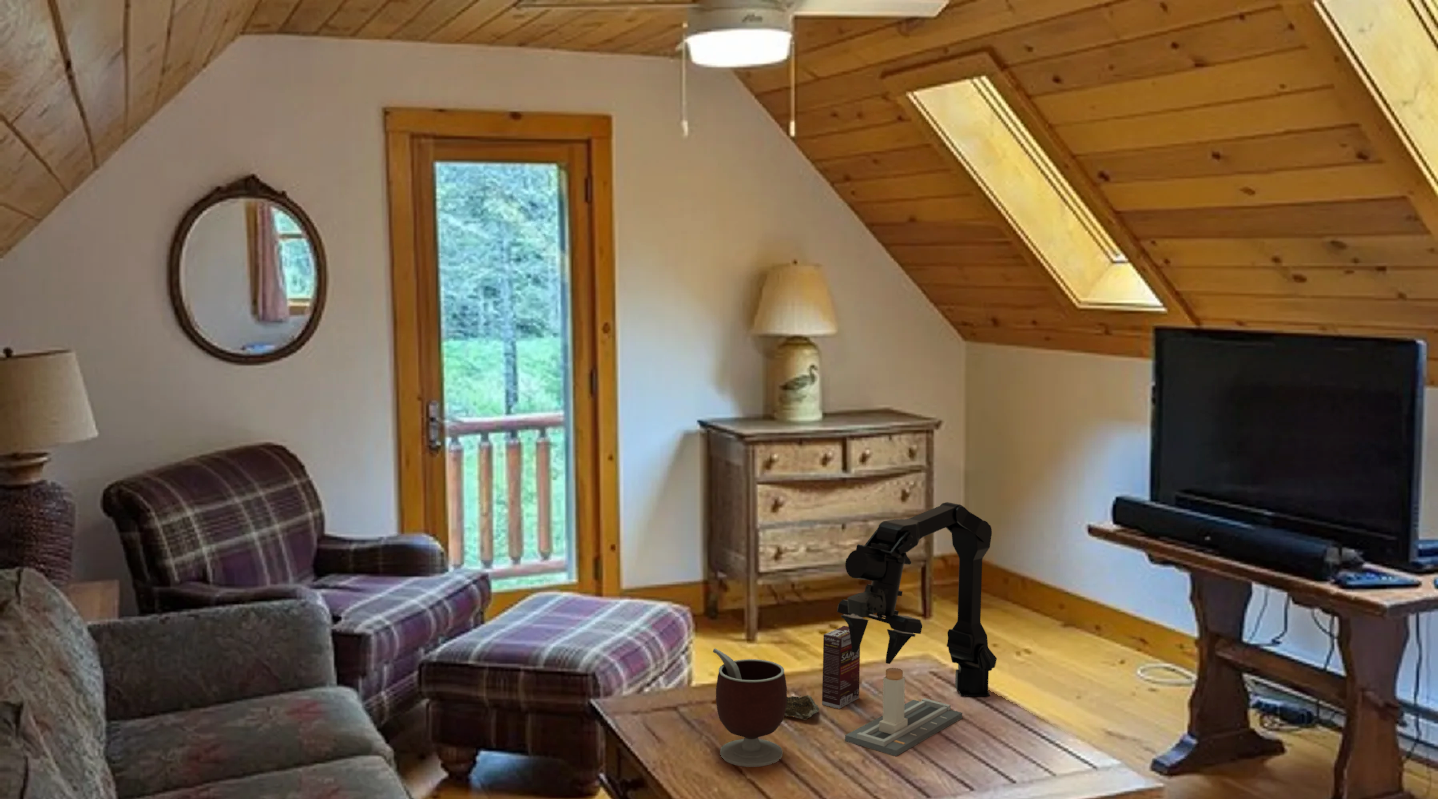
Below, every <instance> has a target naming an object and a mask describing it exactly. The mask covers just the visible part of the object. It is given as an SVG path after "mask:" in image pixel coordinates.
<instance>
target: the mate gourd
mask: <svg viewBox="0 0 1438 799" xmlns="http://www.w3.org/2000/svg"><path fill="white" fill-rule="evenodd" d="M712 653H714V654H716V655H717V656H718V657H719V659H720V660H721V662H722V663H723V664H721V665H720V666H719V668H718V674H717V677H716V678H717V679H716V686H715V702H716V703H715V704H716V709H717V715H718V719H719V721H720V722H721V724H722V725H723V726H724V728H725V729H726V730H727V731H728V733H731V734H733V735H735V736H738V737H742V738H741V739H736V740H732V741H729V742H726V743H725V744H723V745H722V746H721V747H720V750H719V756H720V755H721V756H720V758H721V757H722V758H723V759H724V760H723V759H722V758H721V759H722V760H723V761H725V762H726V763H728V764H731V765H735V766H739V767H745V768H746V767H747V768H749V767H750V768H754V767H755V768H756V767H766V766H769V765H772V763H773V764H775V763H777V762H778V761H780V760H781V759H782V758H781V757H783V748H782V747H781V746H780V745H778V744H777V743H775V742H773V741H770V740H766V739H761V737H765V736H769V735H771V734H773V733H775V731H776V730H777V729H778V728H779V726H780V725H781V724H782V723H783V721H784V718H785V711H786V704H787V697H788V689H787V688H788V687H787V680H786V674H785V668H784V667H783V666H782V665H781V664H779V663H777V662H773V661H770V660H765V659H758V658H757V659H756V658H755V659H753V658H751V659H750V658H747V659H746V658H745V659H737V660H734V659H732V658H731V657H730V656H729V655H728V654H726V653H724V652H722V651H721V650H719V649H717V648H713V651H712ZM779 759H780V760H779Z"/></svg>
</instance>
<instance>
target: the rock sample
mask: <svg viewBox="0 0 1438 799" xmlns="http://www.w3.org/2000/svg"><path fill="white" fill-rule="evenodd" d="M819 711H820V707H819V706H818V704H816V702H815V701H814V698H812V696H811V695H802V696H801V695H799V696H794V695H793V696H787V704H786V711H785V715H784V717H787V716H794V717H796V719H800V720H802V719H803V721H806V720H808V718H811V717H813V715H814V714H817V713H818V712H819ZM794 717H793V718H794Z"/></svg>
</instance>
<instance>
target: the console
mask: <svg viewBox="0 0 1438 799" xmlns="http://www.w3.org/2000/svg"><path fill="white" fill-rule="evenodd" d="M904 718H907V719H908V726H907V727H905V728H903V729H902V730H900V731H898V732H896V733H894V734H893V735H891V734H888V733H884V732H881V731H879V721H881V720H883V715H881V716H878V717H877V718H875V719H873V720H872V721H870V722H868V723H866V724H863V725H862V726H860V727H858V728H856V729H854V730H852V731H850V732H849V733H846V734H844V741H845V742H847V743H850V744H851V743H852V744H854V745H858V746H860V747H865V748H868V749H871V750H874V751H878V752H880V753H884V754H887V755H890V756H893V757H897V756H899V755H901V754H902V753H904V752H906V751H908V750H910V749H911V748H913V747H915V746H916V745H918V744H920V743H922V742H923V741H925V740H927V739H929V738H930V737H932V736H934V735H936V734H937V733H938V732H941V731H942V730H944V729H946V728H948V727H950V726H952V725H953V724H955V723H956V722H958V721H960V720H961V719H963V712H961V711H958V710H954V709H951V704H948V703H944V702H941V701H937V700H932V699H929V698H922V699H921V701H920V700H916V699H911V700H909V701H908V702H906V703H904Z"/></svg>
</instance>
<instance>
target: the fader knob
mask: <svg viewBox="0 0 1438 799" xmlns="http://www.w3.org/2000/svg"><path fill="white" fill-rule="evenodd" d="M903 671H904V670H903V669H902V668H899V667H889V668H886V669H885V676H883V677H882V678H883V679H882V680H883V682H882V684H883V685H882V689H883V690H882V691H883V692H882V716H883V720H881V721H879V731H881V732H884V733H888V734H891V735H893V734H894V733H896V732H898V731H900V730H902V729H903V728H905V727H907V726H908V719H907V718H904V704H905V694H906V693H905V690H906V689H905V688H906V686H905V685H906V678H905V677H906V676H904V674H903V673H904V672H903Z"/></svg>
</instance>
